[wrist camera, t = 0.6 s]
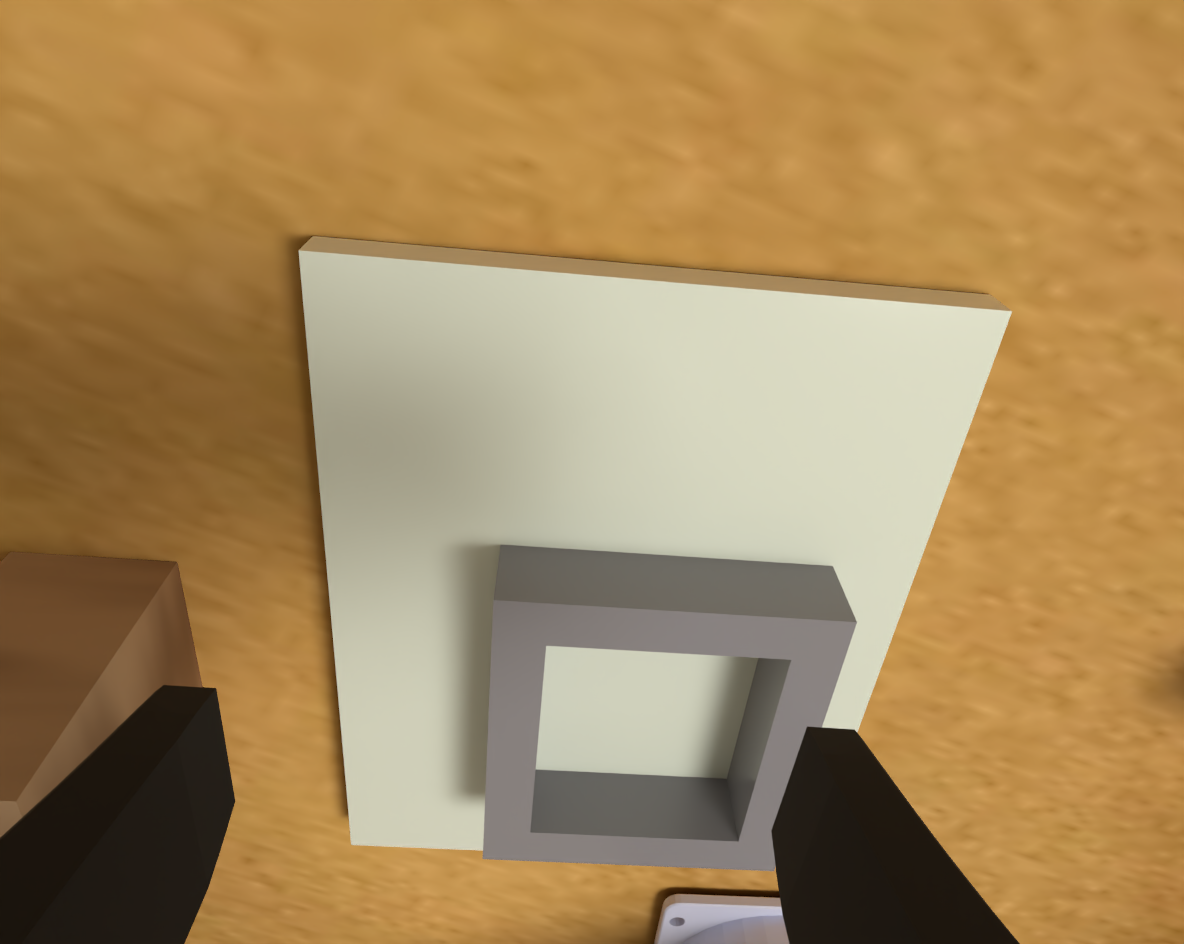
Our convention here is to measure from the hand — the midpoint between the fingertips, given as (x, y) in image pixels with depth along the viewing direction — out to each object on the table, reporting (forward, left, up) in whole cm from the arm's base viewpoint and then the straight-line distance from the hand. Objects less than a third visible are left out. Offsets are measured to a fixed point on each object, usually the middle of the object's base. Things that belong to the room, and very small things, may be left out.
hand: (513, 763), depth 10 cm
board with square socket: (-5, -2, -10) cm, 11 cm away
